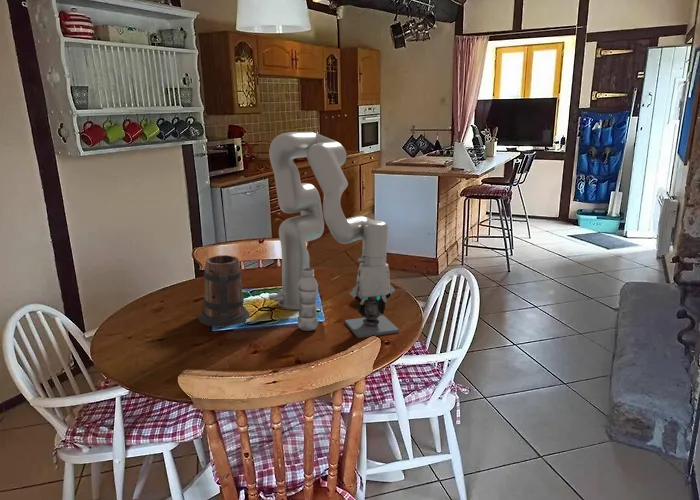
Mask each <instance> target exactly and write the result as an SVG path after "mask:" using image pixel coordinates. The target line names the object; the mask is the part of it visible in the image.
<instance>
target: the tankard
mask: <svg viewBox="0 0 700 500" xmlns="http://www.w3.org/2000/svg"><path fill="white" fill-rule="evenodd" d="M203 279H204V297H203V305H204V306H203V307H204V308H203V309H202V310H201V312H200V314H199V315H198V321H199V323H201V324H202V325H207V326H208V327H209V326H210V327H211V326H212V327H231V326H236V325H238V324H242V323H244V322H246V321H247V320H249V318H250V316H251V314H250V311H248V310H247V307H245V305H244V301H245V300H244V295H243V288H242V287H243V286H242V269H241V266H240V263H239V259H238V256H233V255H227V254H224V255H220V254H219V255H215V256H211V257H208V258H206V259H205V267H204V270H203Z"/></svg>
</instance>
